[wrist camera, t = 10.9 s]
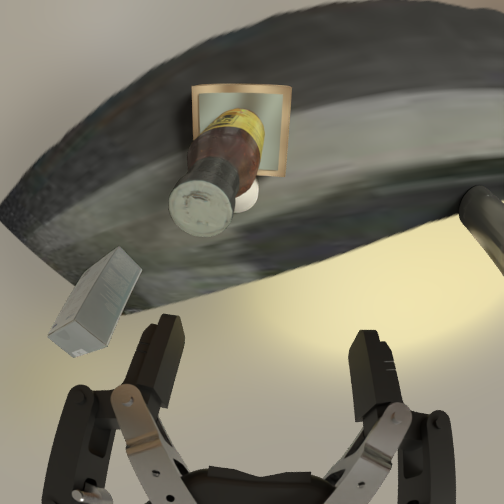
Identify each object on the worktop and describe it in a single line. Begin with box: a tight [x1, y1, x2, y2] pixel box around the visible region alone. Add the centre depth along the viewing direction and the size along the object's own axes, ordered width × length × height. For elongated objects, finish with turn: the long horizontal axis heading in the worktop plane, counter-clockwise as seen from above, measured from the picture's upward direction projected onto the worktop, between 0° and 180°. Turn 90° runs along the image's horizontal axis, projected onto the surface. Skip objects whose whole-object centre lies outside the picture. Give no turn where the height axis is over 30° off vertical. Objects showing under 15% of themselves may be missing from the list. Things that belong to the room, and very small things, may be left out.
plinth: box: [192, 84, 292, 177], centre depth 33 cm, size 12×12×5 cm
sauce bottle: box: [168, 108, 265, 237], centre depth 23 cm, size 6×6×20 cm
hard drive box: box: [48, 246, 142, 358], centre depth 47 cm, size 16×8×20 cm, turn 122°
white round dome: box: [234, 177, 259, 213], centre depth 41 cm, size 7×7×2 cm
